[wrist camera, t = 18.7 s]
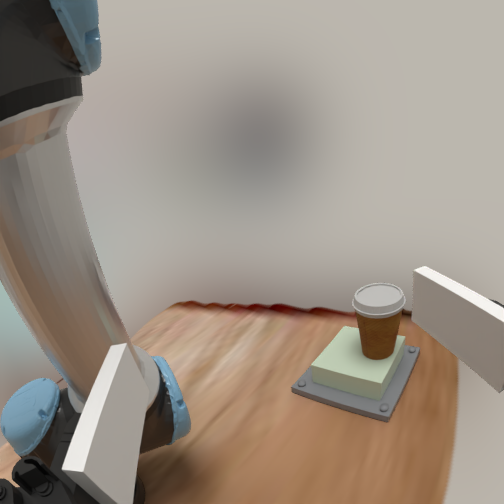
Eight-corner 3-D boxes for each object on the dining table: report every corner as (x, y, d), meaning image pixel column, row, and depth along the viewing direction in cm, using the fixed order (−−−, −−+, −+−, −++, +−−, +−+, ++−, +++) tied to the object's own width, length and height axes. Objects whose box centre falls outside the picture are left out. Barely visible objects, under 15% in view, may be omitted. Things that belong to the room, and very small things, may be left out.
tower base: (292, 392, 53) (288, 370, 51) (339, 337, 66) (338, 316, 65) (387, 422, 39) (391, 399, 37) (419, 353, 53) (422, 330, 51)
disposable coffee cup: (388, 330, 55) (389, 277, 51) (410, 355, 45) (415, 298, 42) (346, 343, 54) (343, 289, 51) (364, 372, 45) (364, 314, 42)
